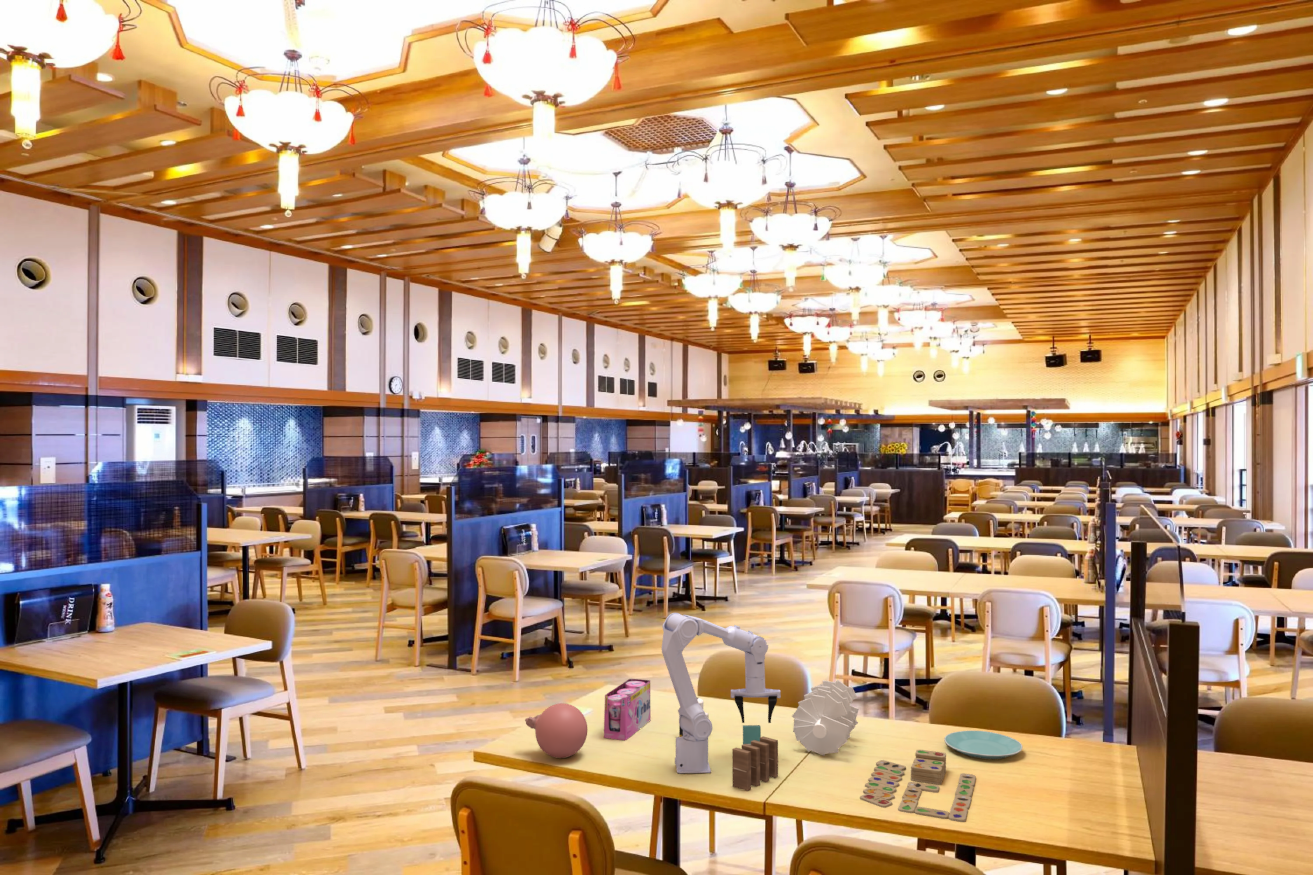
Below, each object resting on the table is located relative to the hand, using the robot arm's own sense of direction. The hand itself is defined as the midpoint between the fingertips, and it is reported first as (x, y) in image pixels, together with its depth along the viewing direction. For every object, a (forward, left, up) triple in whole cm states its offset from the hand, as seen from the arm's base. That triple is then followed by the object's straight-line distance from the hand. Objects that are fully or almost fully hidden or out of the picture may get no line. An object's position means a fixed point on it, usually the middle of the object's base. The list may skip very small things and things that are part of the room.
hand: (756, 721), depth 254 cm
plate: (+69, +3, -11) cm, 70 cm away
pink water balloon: (-60, +5, -11) cm, 61 cm away
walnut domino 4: (+1, -14, -11) cm, 17 cm away
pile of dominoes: (+39, -26, -11) cm, 48 cm away
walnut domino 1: (-8, -23, -11) cm, 26 cm away
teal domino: (-2, -2, -11) cm, 11 cm away
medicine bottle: (-17, +20, -11) cm, 28 cm away
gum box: (-38, +29, -11) cm, 49 cm away
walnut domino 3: (-2, -17, -11) cm, 20 cm away
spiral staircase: (+23, +10, -11) cm, 28 cm away
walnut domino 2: (-5, -20, -11) cm, 23 cm away
